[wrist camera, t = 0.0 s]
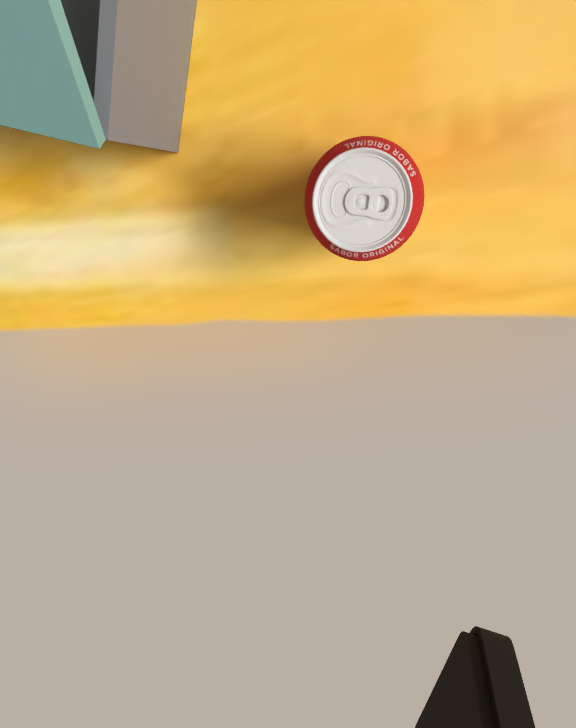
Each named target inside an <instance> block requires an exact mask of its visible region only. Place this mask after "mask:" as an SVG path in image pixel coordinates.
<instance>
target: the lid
mask: <svg viewBox="0 0 576 728" xmlns="http://www.w3.org/2000/svg"><path fill="white" fill-rule="evenodd" d="M0 125H3V126H7V127H11V128H15V129H19V130H23V131H28V132H32V133H36V134H40V135H44V136H48V137H53V138H57V139H61V140H65V141H69V142H73V143H78V144H82V145H86V146H90V147H94V148H98V149H99V148H100V147H101V146H102V144H103V143H104V142H105V140H106V139H105V136H104V132H103V129H102V126H101V123H100V120H99V117H98V114H97V111H96V108H95V105H94V102H93V99H92V96H91V93H90V89H89V86H88V83H87V80H86V77H85V74H84V71H83V68H82V65H81V62H80V59H79V56H78V53H77V49H76V46H75V43H74V40H73V37H72V34H71V31H70V28H69V25H68V22H67V19H66V16H65V13H64V10H63V6H62V3H61V0H0Z"/></svg>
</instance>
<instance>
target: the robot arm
mask: <svg viewBox="0 0 576 728" xmlns="http://www.w3.org/2000/svg"><path fill="white" fill-rule="evenodd" d="M415 728H535V725H534V721H533V717H532V714H531V710H530V706H529V702H528V699H527V695H526V691H525V688H524V684H523V680H522V677H521V673H520V669H519V665H518V661H517V658H516V654H515V650H514V647H513V644H512V641H511V640H510V638H509V637H507V636H504V635H501V634H498V633H495V632H492V631H489V630H486V629H483V628H480V627H476V626H475V627H474V628H473V629H472V630H471V632H470V633H467V632H461V633H460V635H459V637H458V639H457V641H456V643H455V645H454V647H453V649H452V651H451V653H450V655H449V657H448V660H447V662H446V664H445V666H444V668H443V670H442V672H441V674H440V676H439V678H438V680H437V682H436V684H435V687H434V689H433V691H432V693H431V695H430V697H429V699H428V701H427V703H426V705H425V707H424V710H423V711H422V714H421V716H420V718H419V720H418V722H417V724H416V727H415Z"/></svg>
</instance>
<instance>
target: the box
mask: <svg viewBox="0 0 576 728" xmlns="http://www.w3.org/2000/svg"><path fill="white" fill-rule="evenodd" d="M196 2H197V0H61V3H62V6H63V10H64V13H65V16H66V19H67V22H68V25H69V28H70V31H71V34H72V37H73V40H74V43H75V46H76V49H77V53H78V56H79V59H80V62H81V65H82V68H83V71H84V74H85V77H86V80H87V83H88V86H89V89H90V93H91V96H92V99H93V102H94V105H95V108H96V111H97V114H98V117H99V120H100V123H101V126H102V129H103V132H104V136H105V139H106V140H109V141H115V142H121V143H126V144H132V145H138V146H143V147H149V148H154V149H160V150H166V151H171V152H177V153H178V150H179V141H180V133H181V125H182V117H183V109H184V101H185V92H186V84H187V76H188V68H189V60H190V51H191V43H192V35H193V27H194V19H195V11H196Z"/></svg>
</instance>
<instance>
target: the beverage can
mask: <svg viewBox="0 0 576 728" xmlns="http://www.w3.org/2000/svg"><path fill="white" fill-rule="evenodd" d="M423 206H424V186H423V181H422V177H421V174H420V172H419V169H418V167H417V165H416V164H415V162H414V161H413V159H412V158H411V157H410V155H409V154H408V153H407V152H406V151H405V150H404V149H402V148H401V147H400V146H398V145H397V144H395V143H393V142H391V141H389V140H386V139H383V138H380V137H374V136H361V137H355V138H351V139H348V140H345V141H343V142H341V143H339V144H337V145H335V146H334V147H332V148H331V149H330V150H329V151H327V152H326V153H325V154H324V155H323V156H322V157H321V158H320V160H319V161H318V162H317V164H316V165H315V167H314V168H313V170H312V172H311V174H310V177H309V179H308V182H307V186H306V191H305V212H306V217H307V221H308V224H309V226H310V228H311V230H312V232H313V234H314V235H315V237H316V238H317V240H318V241H319V242H320V243H321V244H322V245H323V246H324V247H325V248H326V249H328V250H329V251H330V252H332V253H334V254H336V255H338V256H340V257H342V258H345V259H349V260H354V261H369V260H374V259H378V258H381V257H384V256H386V255H388V254H390V253H392V252H394V251H395V250H397V249H398V248H399V247H401V246H402V245H403V244H404V243H405V242H406V241H407V240H408V238H409V237H410V236H411V235H412V233H413V232H414V230H415V228H416V226H417V225H418V222H419V220H420V217H421V214H422V210H423Z"/></svg>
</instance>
